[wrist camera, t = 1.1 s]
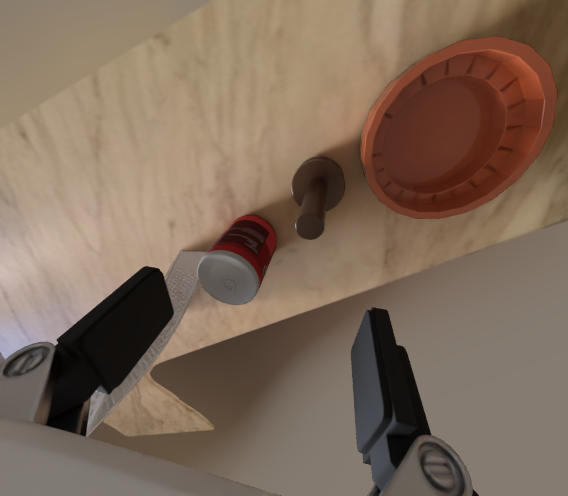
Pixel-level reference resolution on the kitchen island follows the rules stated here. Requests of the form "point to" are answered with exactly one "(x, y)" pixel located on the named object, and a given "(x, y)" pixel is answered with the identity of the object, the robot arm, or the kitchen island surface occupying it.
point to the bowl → (458, 127)
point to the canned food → (238, 260)
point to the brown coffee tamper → (316, 194)
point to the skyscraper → (181, 290)
